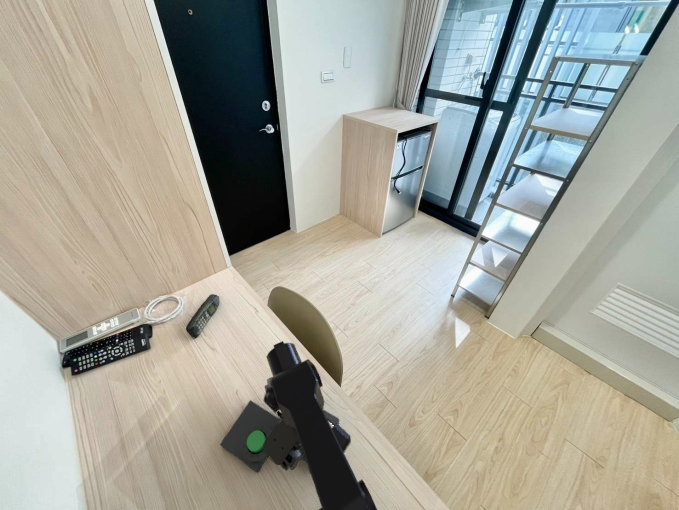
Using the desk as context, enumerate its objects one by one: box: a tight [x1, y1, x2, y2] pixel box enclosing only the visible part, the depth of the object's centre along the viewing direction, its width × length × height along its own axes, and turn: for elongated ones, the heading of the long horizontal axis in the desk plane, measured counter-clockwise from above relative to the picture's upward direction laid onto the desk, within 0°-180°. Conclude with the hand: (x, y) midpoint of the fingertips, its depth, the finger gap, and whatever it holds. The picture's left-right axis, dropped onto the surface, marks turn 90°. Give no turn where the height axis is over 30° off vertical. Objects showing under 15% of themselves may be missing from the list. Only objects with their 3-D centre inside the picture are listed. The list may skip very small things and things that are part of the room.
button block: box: [219, 400, 281, 474], centre depth 60 cm, size 10×11×4 cm
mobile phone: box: [185, 293, 220, 339], centre depth 82 cm, size 5×3×15 cm
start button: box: [247, 431, 266, 453], centre depth 57 cm, size 4×4×2 cm
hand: (308, 429), depth 59 cm, fingers closed on program dial, 4 cm apart
